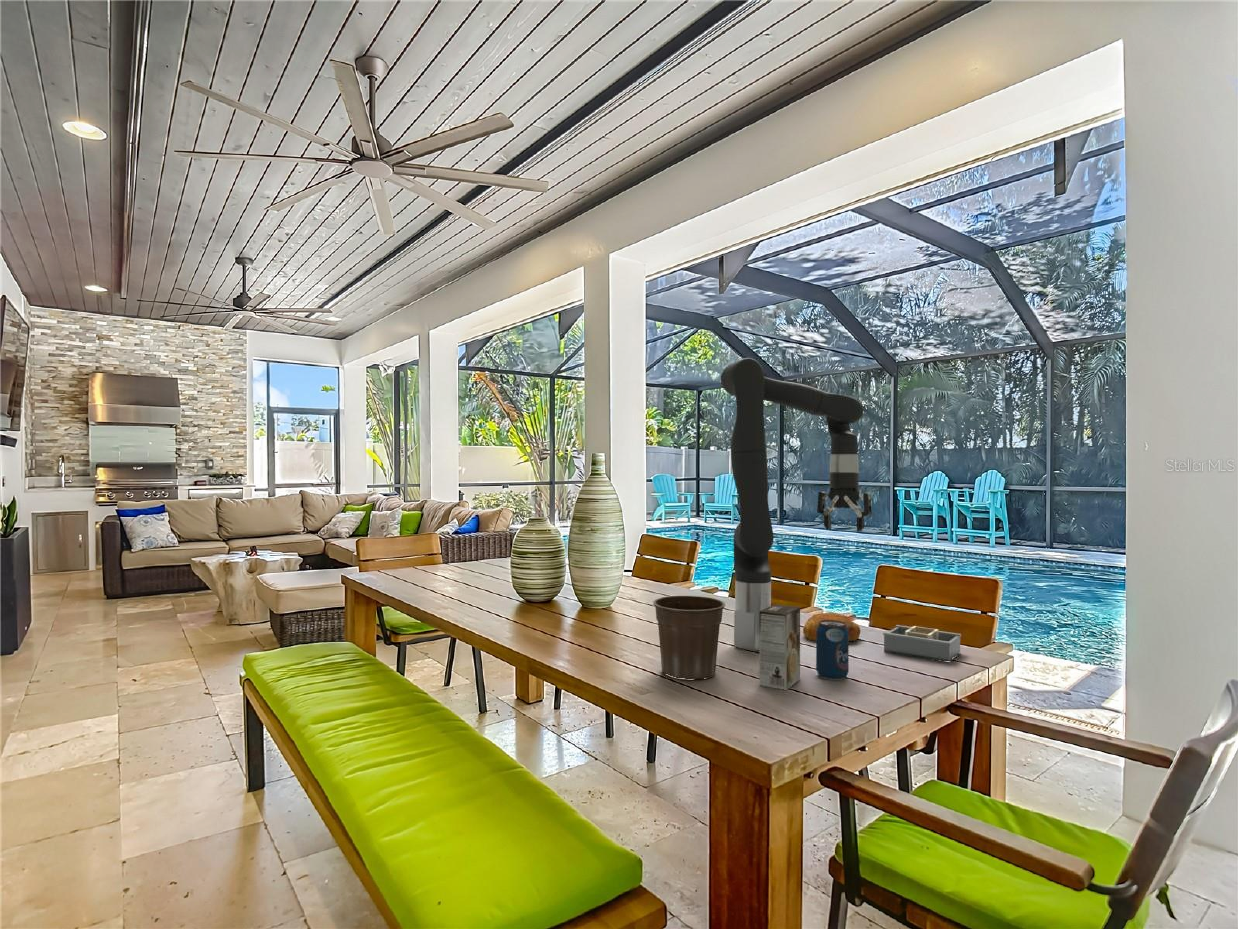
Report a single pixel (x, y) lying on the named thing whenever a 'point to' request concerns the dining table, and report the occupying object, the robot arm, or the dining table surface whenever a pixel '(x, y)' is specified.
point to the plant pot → (688, 635)
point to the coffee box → (779, 646)
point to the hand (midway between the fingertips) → (843, 530)
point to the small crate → (922, 632)
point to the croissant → (814, 621)
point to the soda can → (832, 650)
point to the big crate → (922, 644)
